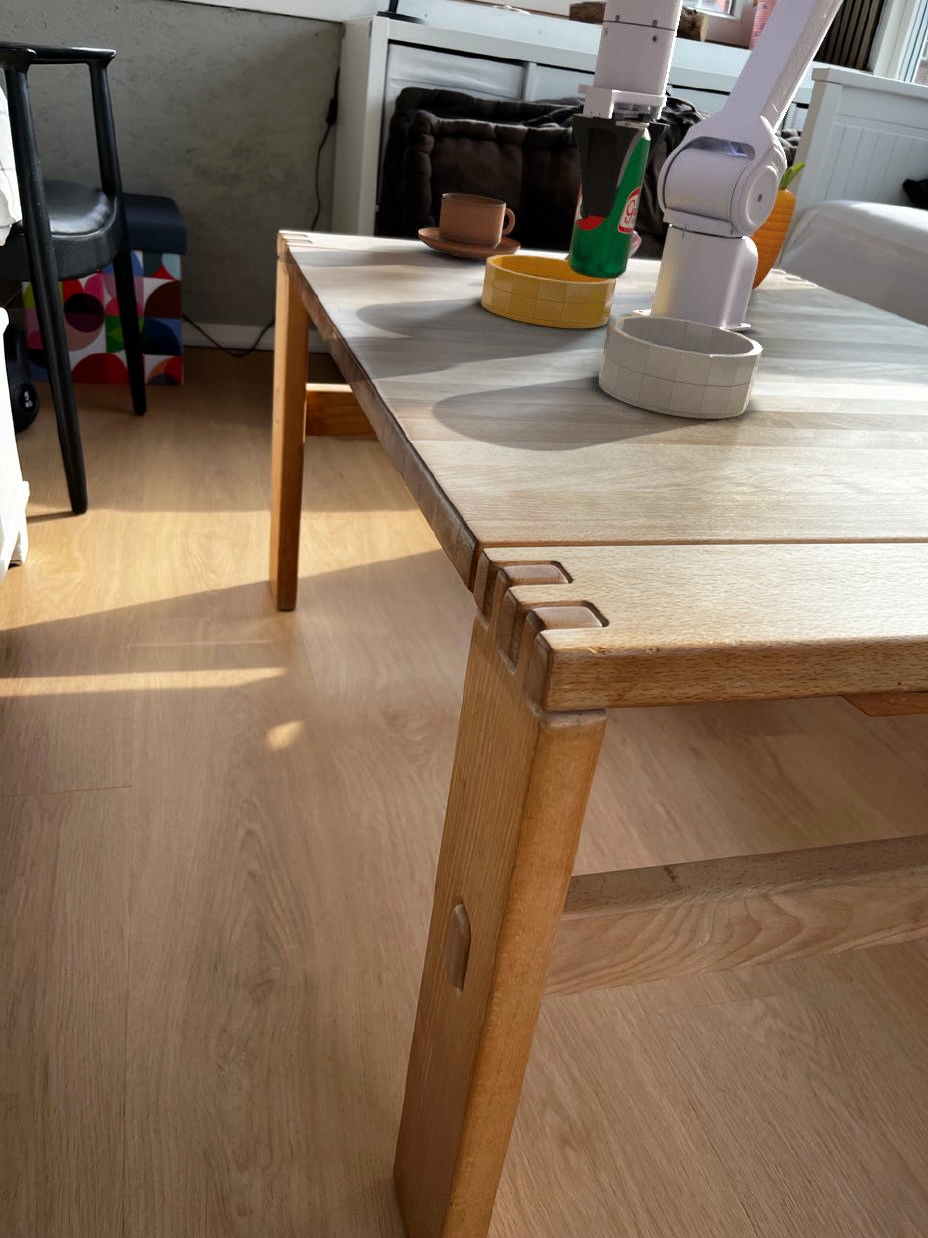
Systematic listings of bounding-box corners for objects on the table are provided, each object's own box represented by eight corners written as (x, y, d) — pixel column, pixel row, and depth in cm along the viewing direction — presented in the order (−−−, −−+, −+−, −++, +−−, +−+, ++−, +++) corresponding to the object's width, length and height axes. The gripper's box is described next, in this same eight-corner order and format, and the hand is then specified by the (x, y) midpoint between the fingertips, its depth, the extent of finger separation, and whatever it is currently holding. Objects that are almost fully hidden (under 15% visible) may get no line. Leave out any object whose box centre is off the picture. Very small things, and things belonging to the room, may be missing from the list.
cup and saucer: (456, 241, 127) (462, 188, 124) (537, 261, 122) (545, 206, 119) (395, 247, 118) (400, 190, 115) (479, 269, 113) (487, 210, 110)
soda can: (622, 283, 85) (653, 125, 80) (563, 273, 86) (588, 115, 80) (626, 273, 90) (654, 122, 84) (569, 264, 90) (594, 114, 85)
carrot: (778, 291, 125) (813, 157, 118) (765, 295, 121) (801, 158, 114) (739, 282, 127) (771, 151, 120) (726, 286, 123) (758, 150, 116)
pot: (658, 366, 85) (670, 311, 82) (774, 408, 78) (790, 349, 76) (568, 380, 77) (578, 320, 75) (686, 426, 71) (702, 362, 69)
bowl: (542, 293, 105) (548, 253, 104) (633, 323, 98) (641, 280, 96) (454, 299, 98) (460, 255, 96) (546, 332, 90) (554, 286, 88)
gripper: (618, 27, 86) (589, 199, 93) (559, 12, 74) (530, 210, 81) (699, 38, 84) (664, 213, 91) (651, 23, 72) (614, 226, 79)
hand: (606, 213), depth 86 cm, fingers closed on soda can, 5 cm apart
